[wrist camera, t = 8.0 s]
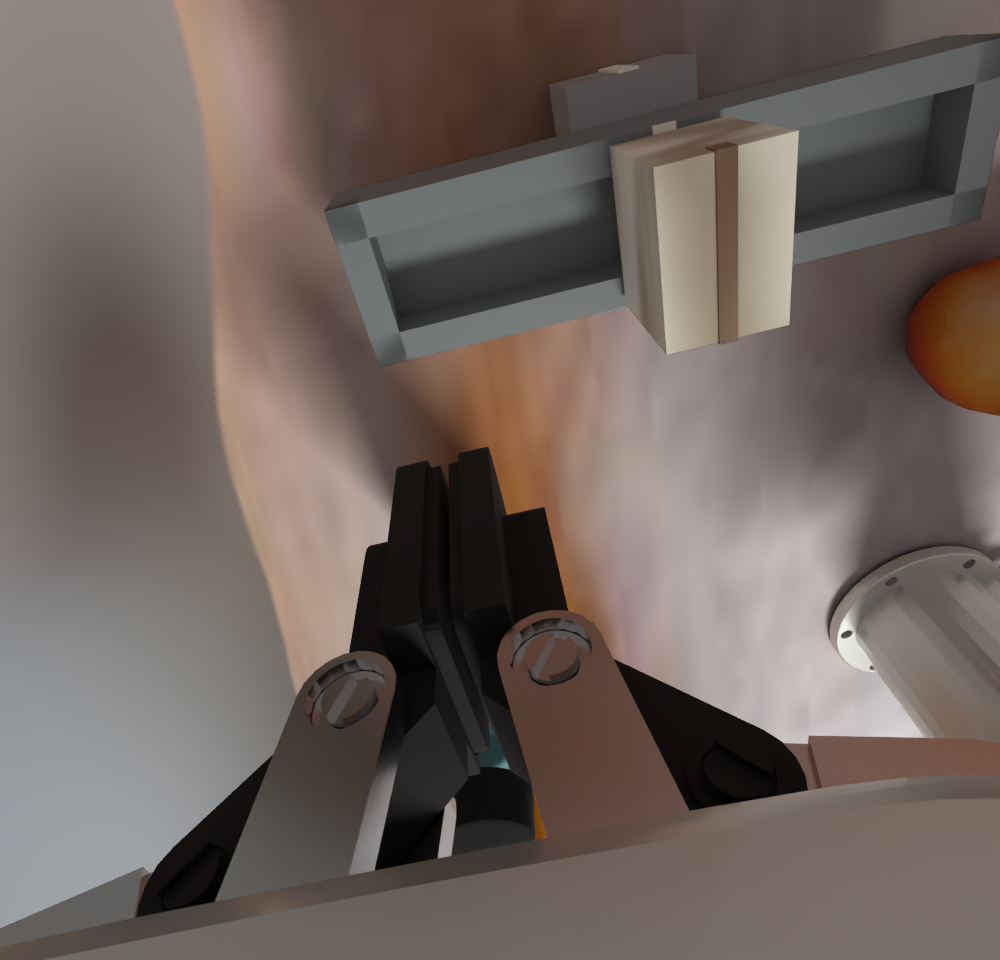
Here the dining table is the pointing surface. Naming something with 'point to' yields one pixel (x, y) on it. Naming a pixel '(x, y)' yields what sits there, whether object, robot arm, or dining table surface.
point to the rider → (707, 230)
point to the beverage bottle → (493, 806)
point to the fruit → (960, 337)
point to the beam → (591, 202)
